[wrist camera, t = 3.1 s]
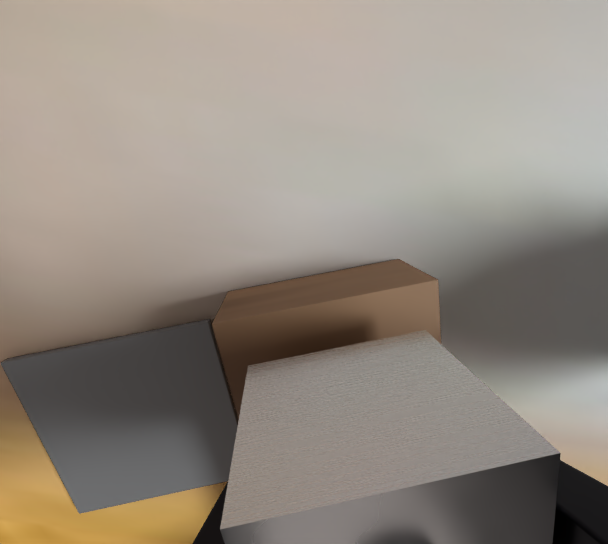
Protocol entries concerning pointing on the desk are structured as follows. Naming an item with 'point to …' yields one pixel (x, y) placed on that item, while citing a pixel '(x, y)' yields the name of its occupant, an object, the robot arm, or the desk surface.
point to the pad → (131, 413)
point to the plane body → (322, 315)
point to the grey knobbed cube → (384, 453)
